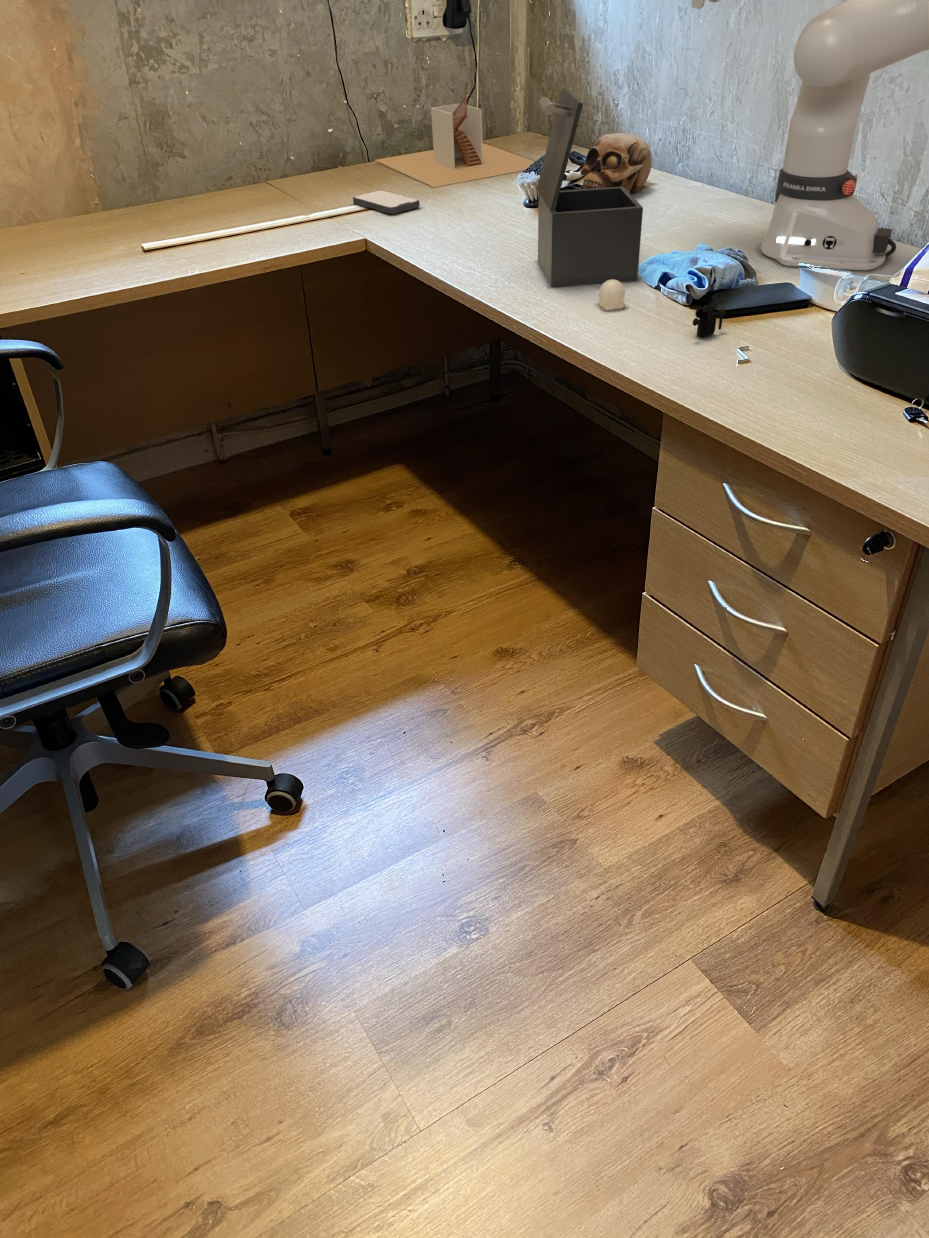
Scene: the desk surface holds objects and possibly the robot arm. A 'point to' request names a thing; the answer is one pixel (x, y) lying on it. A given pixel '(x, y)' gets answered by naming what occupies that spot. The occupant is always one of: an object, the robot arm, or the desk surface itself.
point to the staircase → (456, 150)
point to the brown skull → (617, 163)
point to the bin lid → (558, 144)
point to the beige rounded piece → (611, 295)
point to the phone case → (386, 202)
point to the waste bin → (590, 237)
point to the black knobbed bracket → (707, 320)
